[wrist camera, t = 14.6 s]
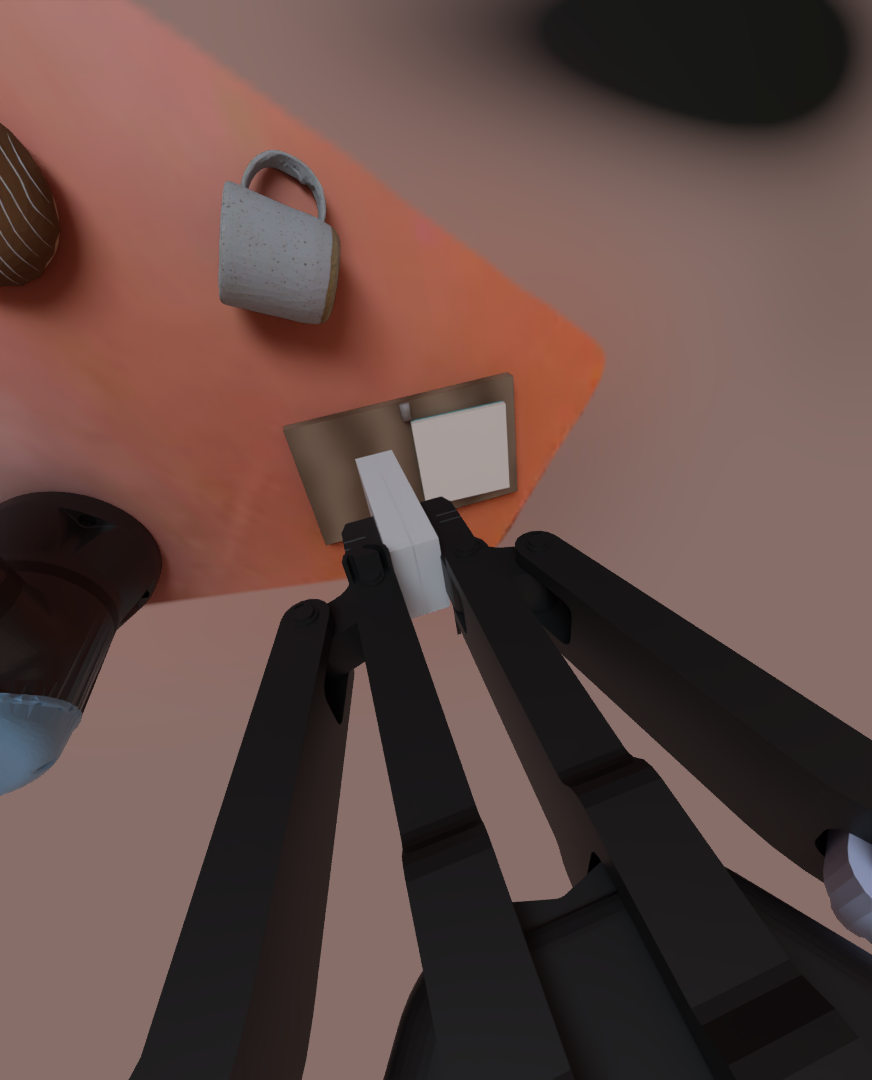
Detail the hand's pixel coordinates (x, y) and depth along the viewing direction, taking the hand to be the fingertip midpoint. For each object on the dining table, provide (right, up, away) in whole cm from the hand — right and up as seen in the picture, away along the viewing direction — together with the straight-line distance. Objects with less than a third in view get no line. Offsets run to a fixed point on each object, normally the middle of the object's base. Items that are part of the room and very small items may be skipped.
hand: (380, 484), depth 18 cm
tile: (+5, +7, +29) cm, 31 cm away
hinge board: (0, +7, +31) cm, 32 cm away
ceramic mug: (-11, +22, +17) cm, 30 cm away
